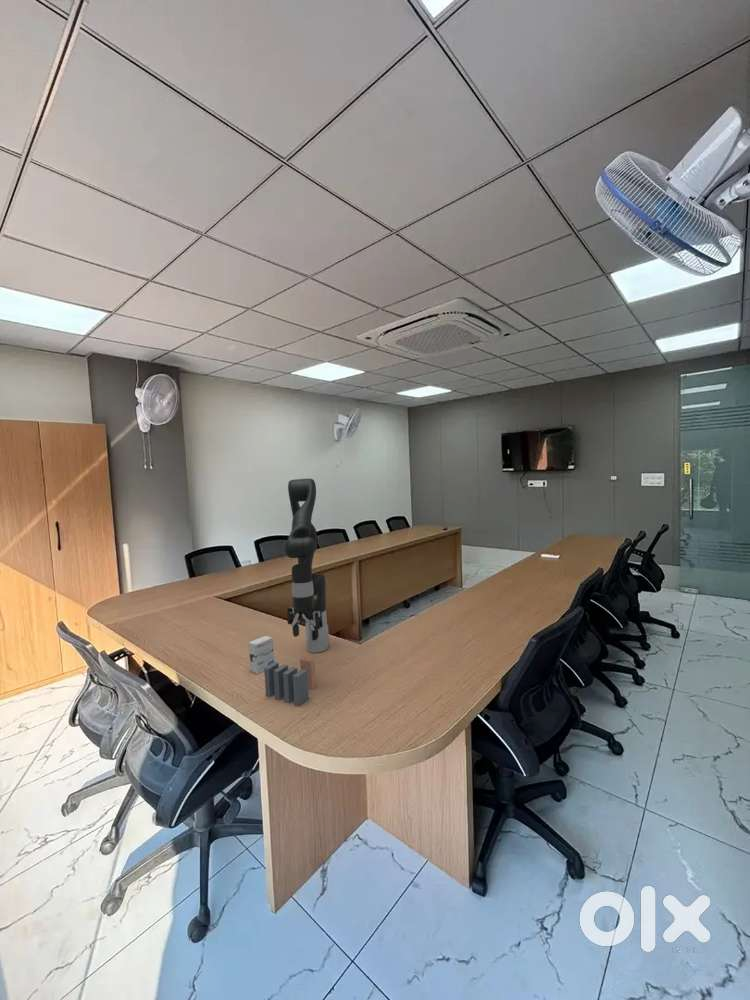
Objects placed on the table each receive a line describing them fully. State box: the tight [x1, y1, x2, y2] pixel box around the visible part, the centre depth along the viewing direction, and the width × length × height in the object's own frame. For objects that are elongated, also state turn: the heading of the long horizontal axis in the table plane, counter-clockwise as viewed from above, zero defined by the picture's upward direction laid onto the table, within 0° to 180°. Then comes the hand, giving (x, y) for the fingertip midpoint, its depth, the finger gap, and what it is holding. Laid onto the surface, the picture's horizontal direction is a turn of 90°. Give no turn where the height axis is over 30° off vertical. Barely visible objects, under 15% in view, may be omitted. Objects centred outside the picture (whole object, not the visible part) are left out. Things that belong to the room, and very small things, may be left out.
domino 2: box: [273, 664, 289, 701], centre depth 142 cm, size 2×5×10 cm, turn 150°
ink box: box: [248, 635, 275, 675], centre depth 163 cm, size 8×5×12 cm, turn 141°
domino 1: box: [263, 661, 280, 698], centre depth 144 cm, size 2×5×10 cm, turn 150°
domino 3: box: [283, 666, 299, 704], centre depth 139 cm, size 2×5×10 cm, turn 150°
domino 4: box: [299, 657, 317, 690], centre depth 147 cm, size 2×5×10 cm, turn 60°
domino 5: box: [293, 669, 310, 707], centre depth 137 cm, size 2×5×10 cm, turn 150°
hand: (305, 637), depth 146 cm, fingers open, 8 cm apart
